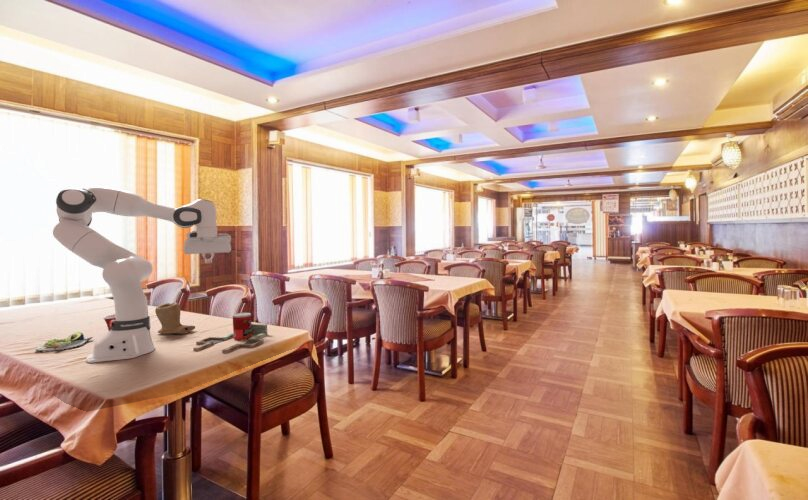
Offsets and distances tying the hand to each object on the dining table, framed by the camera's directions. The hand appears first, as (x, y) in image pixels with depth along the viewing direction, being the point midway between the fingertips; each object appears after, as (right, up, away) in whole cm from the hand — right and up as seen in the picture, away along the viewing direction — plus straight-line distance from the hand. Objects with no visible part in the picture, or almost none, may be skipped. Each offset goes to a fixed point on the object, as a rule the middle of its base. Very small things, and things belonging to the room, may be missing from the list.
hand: (208, 262), depth 189 cm
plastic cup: (-39, -36, -6) cm, 53 cm away
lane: (+18, -35, -15) cm, 42 cm away
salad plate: (-57, -37, -13) cm, 69 cm away
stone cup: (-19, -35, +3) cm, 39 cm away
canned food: (+20, -34, -8) cm, 41 cm away
